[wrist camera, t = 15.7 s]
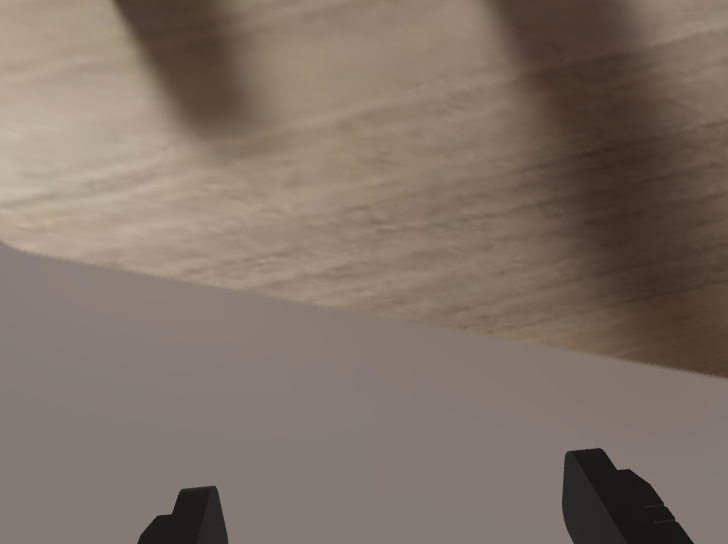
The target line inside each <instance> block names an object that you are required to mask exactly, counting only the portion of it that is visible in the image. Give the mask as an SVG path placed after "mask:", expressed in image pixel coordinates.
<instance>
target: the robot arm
mask: <svg viewBox="0 0 728 544" xmlns="http://www.w3.org/2000/svg"><path fill="white" fill-rule="evenodd" d="M562 510H563V516H564V521H565V524H566V527H567V530H568V532H569V535H570V537H571V539H572V541H573V543H574V544H694V543H693V542H692V541H691V539H690V538H689V536H688V535H687V534H686V532H685V531H684V530H683V528H682V527H681V526H680V524H679V523H678V522H676V521H675V517H674V516H673V515H672V513H671V512H670V511H669V509H668V508H667V507H665V506H664V503H663V501H662V500H661V498H660V497H659V496H658V494H657V493H656V492H655V490H654V489H653V488H652V486H651V485H650V484H649V483H647V482H646V481H645V480H643V479H642V478H641V477H639V476H638V475H637V474H635V473H634V472H632V471H631V470H630V469H625V470H617V469H616V468H615V466H614V465H613V463H612V462H611V460H610V459H609V458H608V456H607V455H606V453H605V452H604V451H603V450H602V449H600V448H596V449H586V450H576V451H568V452H567V453H566V455H565V463H564V480H563V497H562ZM137 544H228V537H227V532H226V527H225V522H224V518H223V513H222V508H221V503H220V499H219V494H218V490H217V488H216V486H208V487H197V488H187V489H182V490H181V491H180V492H179V495H178V498H177V500H176V504H175V506H174V510H173V512H172V514H170V515H160V516H157V517H156V518H155V519H154V520H153V521H152V523H151V524H150V525H149V526H148V527H147V528H146V530H145V531H144V532H143V533H142V534H141V536H140V538H139V541H138V543H137Z"/></svg>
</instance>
